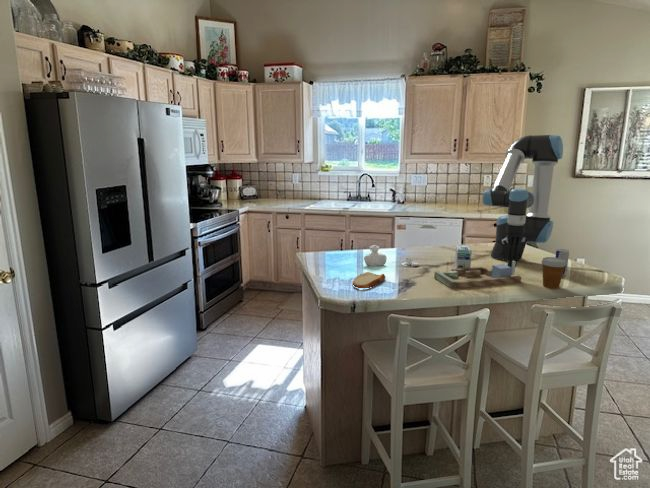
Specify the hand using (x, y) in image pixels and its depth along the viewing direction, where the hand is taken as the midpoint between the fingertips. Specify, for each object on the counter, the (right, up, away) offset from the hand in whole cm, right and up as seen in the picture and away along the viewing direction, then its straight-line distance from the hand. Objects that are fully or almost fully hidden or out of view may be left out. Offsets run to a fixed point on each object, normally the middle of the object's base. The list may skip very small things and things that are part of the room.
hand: (511, 274), depth 201 cm
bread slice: (-66, -4, -6) cm, 66 cm away
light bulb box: (-17, +2, +17) cm, 24 cm away
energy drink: (+25, -1, +4) cm, 25 cm away
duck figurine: (-60, +3, +23) cm, 65 cm away
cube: (-5, -2, -1) cm, 5 cm away
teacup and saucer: (-43, +2, +21) cm, 48 cm away
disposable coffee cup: (+12, -5, -12) cm, 18 cm away
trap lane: (-17, -2, -1) cm, 17 cm away
